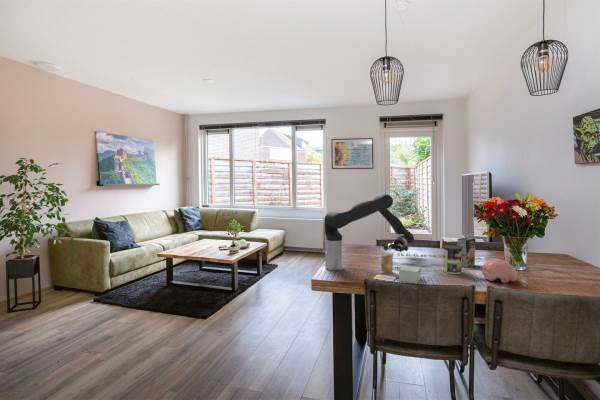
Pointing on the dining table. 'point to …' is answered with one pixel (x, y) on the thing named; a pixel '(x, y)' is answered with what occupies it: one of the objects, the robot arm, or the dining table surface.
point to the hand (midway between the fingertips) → (392, 249)
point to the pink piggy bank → (499, 270)
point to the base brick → (409, 274)
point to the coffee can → (451, 259)
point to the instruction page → (384, 277)
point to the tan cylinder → (387, 263)
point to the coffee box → (467, 251)
